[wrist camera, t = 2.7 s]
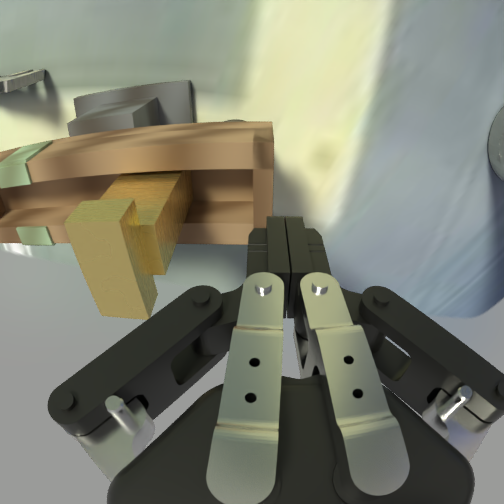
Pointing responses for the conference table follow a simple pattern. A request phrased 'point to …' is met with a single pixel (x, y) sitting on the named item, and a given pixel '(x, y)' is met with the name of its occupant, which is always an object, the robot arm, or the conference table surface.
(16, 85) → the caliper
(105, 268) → the block
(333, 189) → the conference table surface
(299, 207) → the conference table surface
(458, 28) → the conference table surface
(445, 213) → the conference table surface
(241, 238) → the beam
